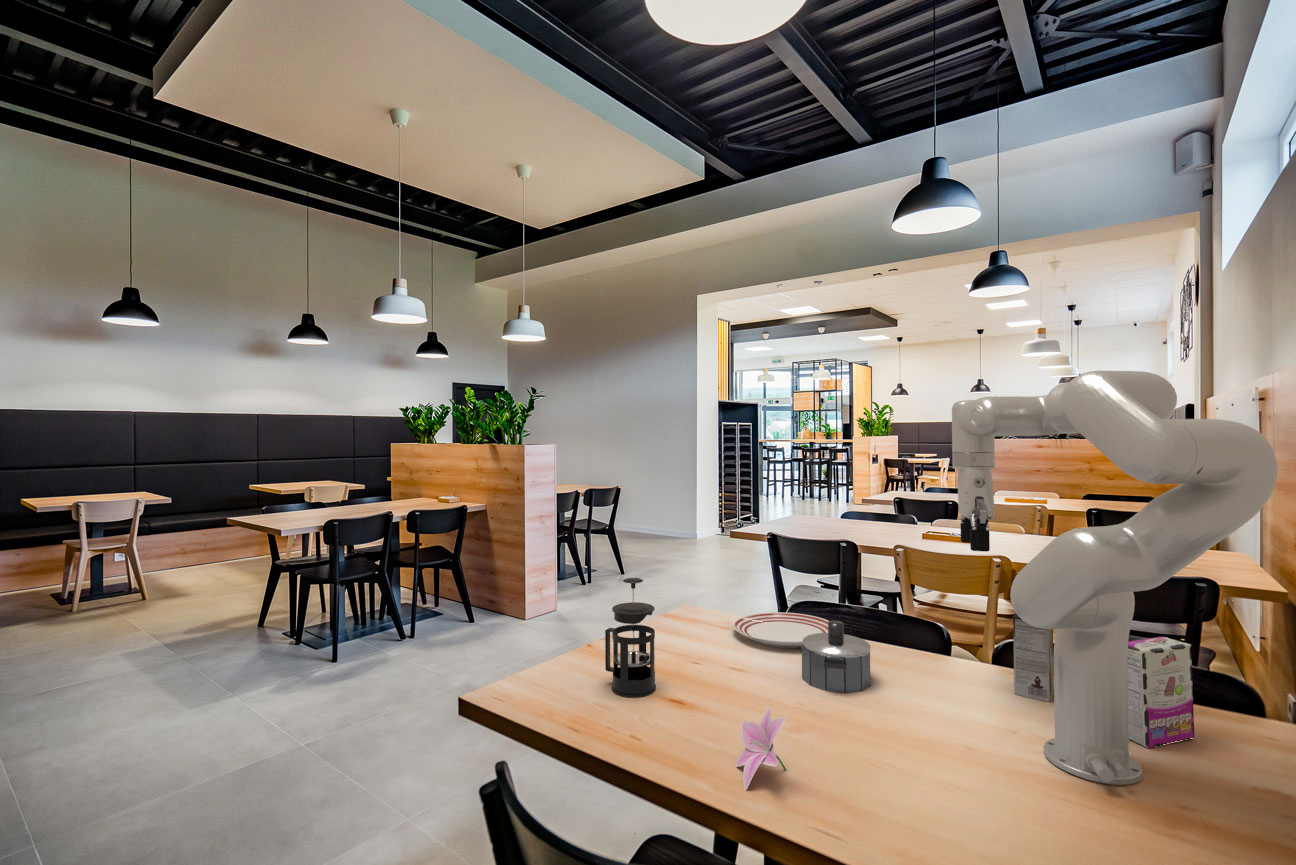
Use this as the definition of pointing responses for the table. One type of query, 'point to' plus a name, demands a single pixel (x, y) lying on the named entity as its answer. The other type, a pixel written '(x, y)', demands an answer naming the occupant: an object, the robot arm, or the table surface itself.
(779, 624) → the dinner plate
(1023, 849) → the table surface
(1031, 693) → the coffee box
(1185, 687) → the candy bar box
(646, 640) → the french press
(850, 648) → the lid
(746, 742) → the lily
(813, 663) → the pot
